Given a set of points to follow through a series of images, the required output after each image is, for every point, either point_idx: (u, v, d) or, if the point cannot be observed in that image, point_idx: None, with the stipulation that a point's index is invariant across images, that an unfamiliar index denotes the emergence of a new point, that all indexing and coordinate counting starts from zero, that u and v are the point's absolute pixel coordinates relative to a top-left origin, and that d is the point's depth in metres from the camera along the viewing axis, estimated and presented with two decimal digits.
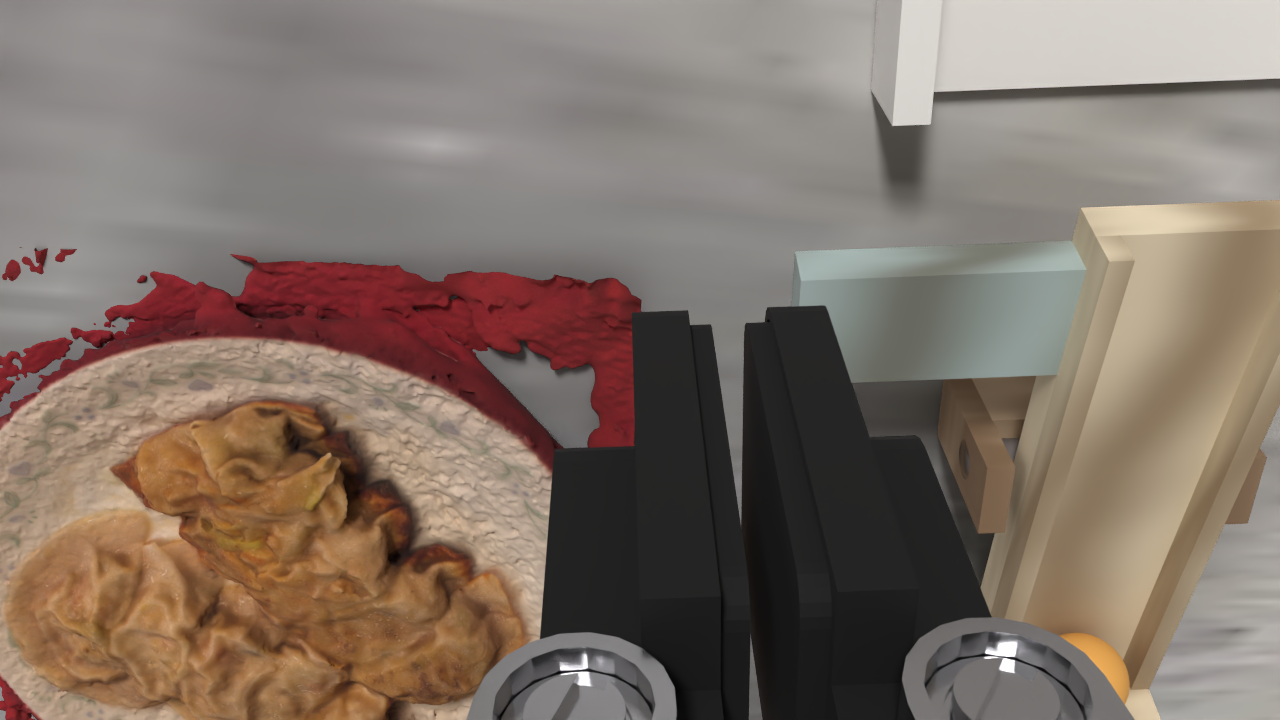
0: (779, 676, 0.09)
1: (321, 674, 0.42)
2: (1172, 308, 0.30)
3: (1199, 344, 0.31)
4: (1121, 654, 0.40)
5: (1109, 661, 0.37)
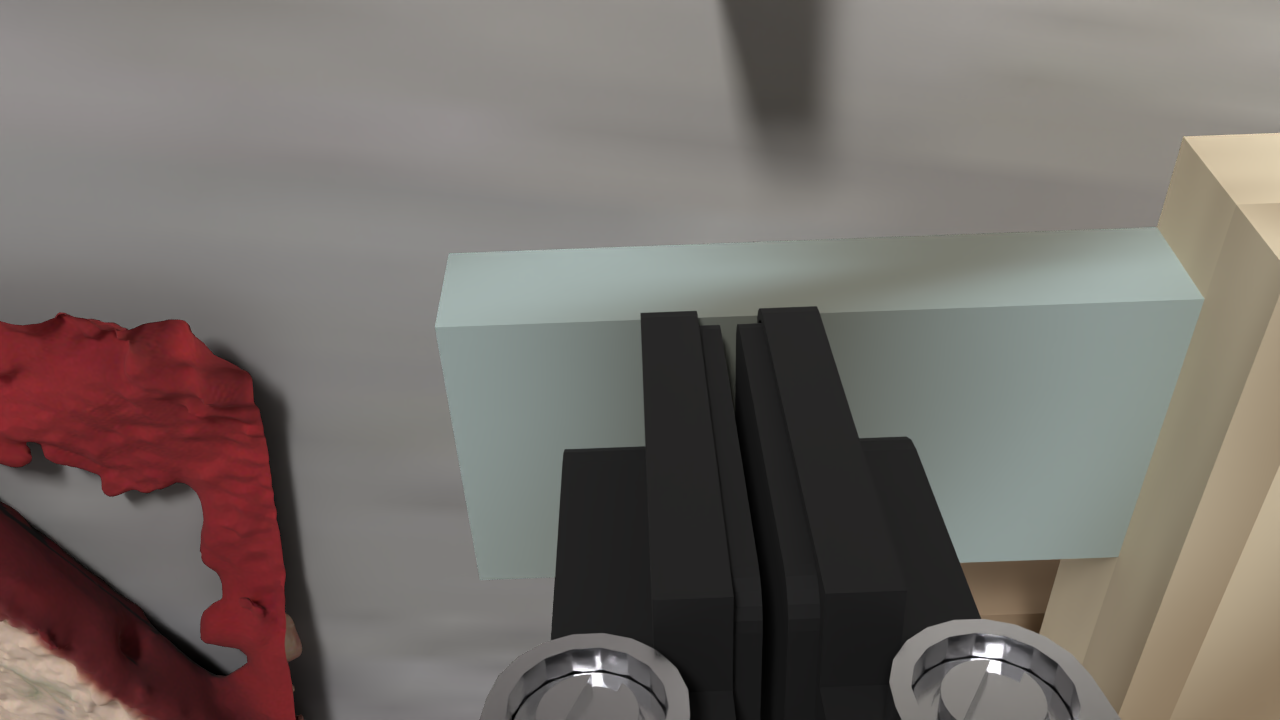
0: (769, 677, 0.09)
1: None
2: None
3: None
4: None
5: None
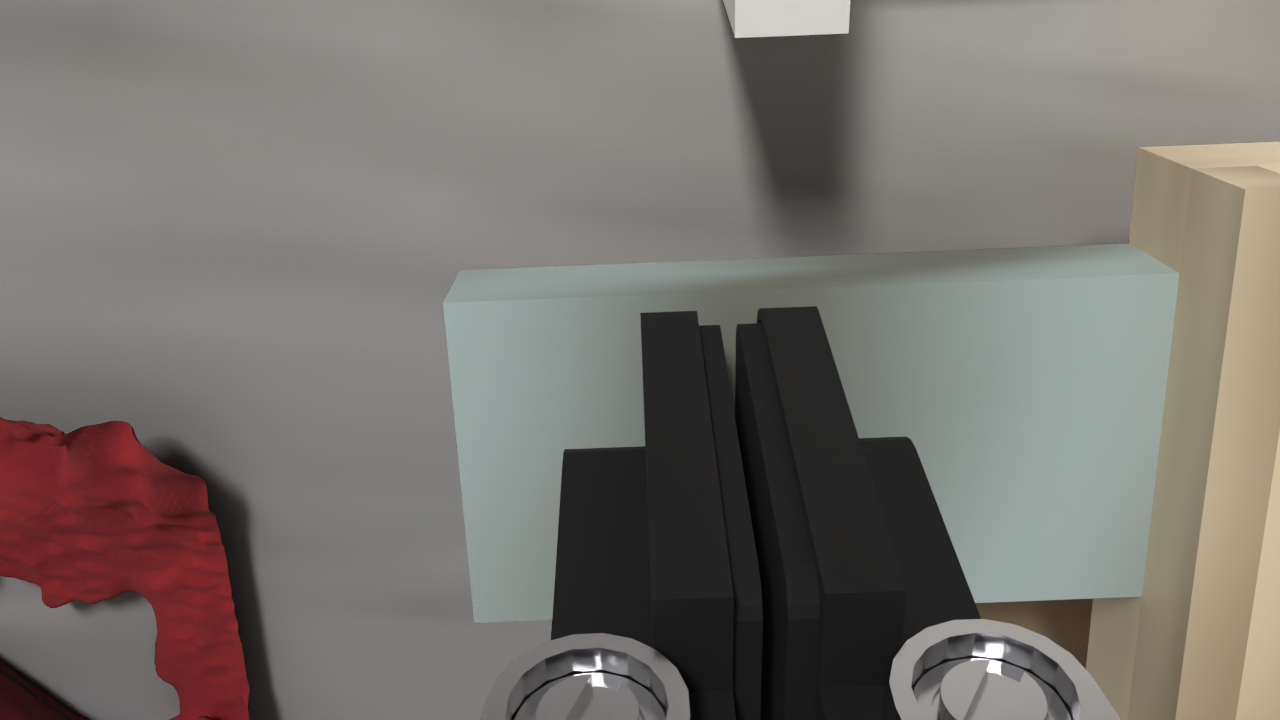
0: (769, 678, 0.09)
1: None
2: None
3: None
4: None
5: None
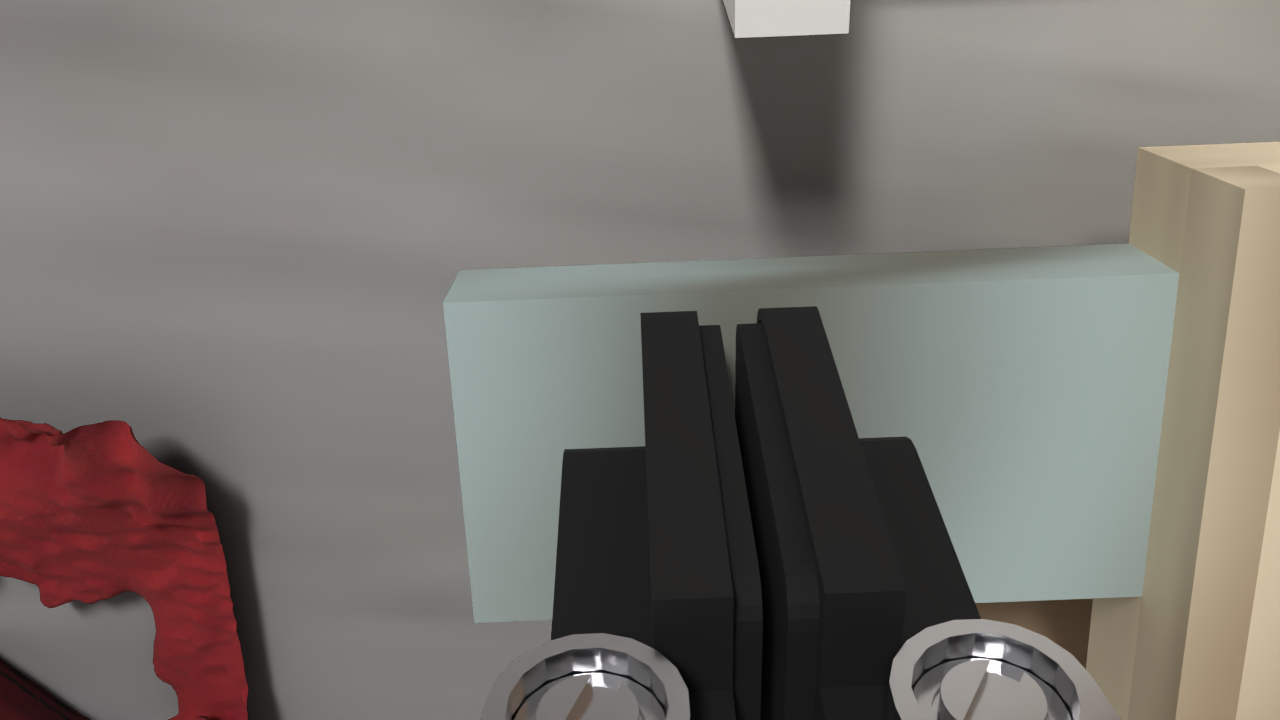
0: (769, 678, 0.09)
1: None
2: None
3: None
4: None
5: None
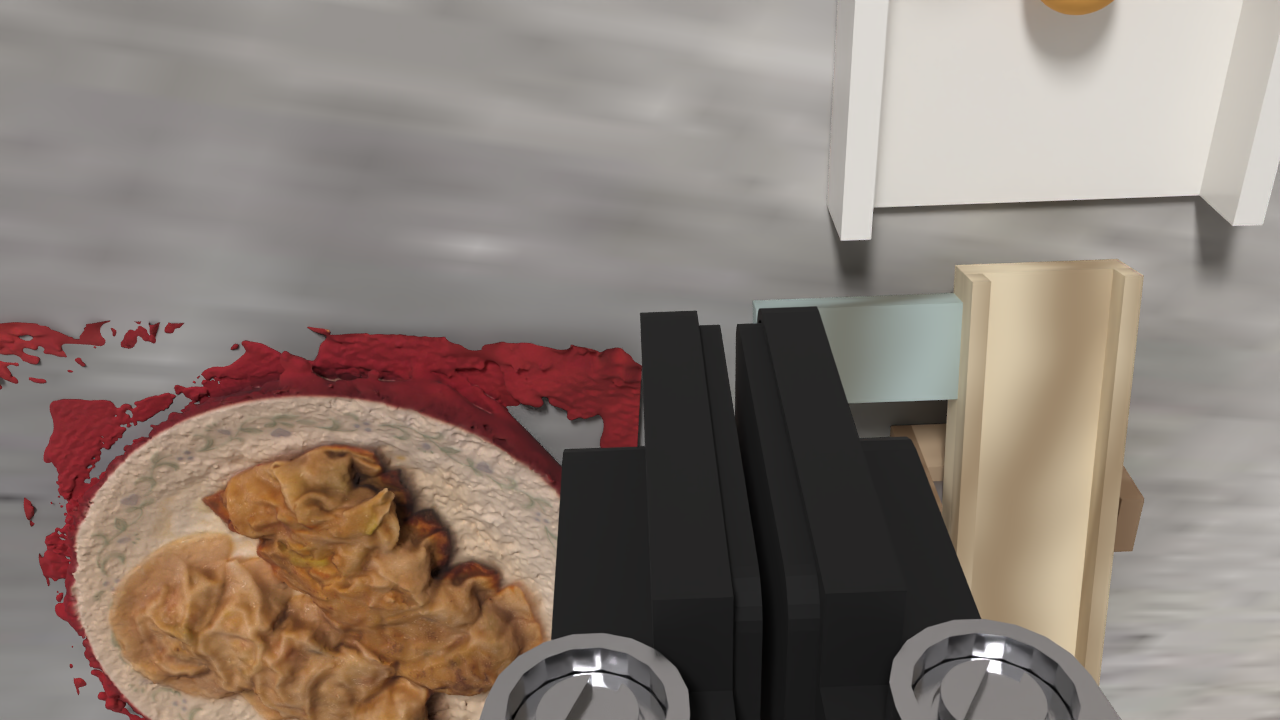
0: (769, 677, 0.09)
1: (373, 669, 0.50)
2: (1033, 337, 0.40)
3: (1060, 371, 0.41)
4: None
5: None
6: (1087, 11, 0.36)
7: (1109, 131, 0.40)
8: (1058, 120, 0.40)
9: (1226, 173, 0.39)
